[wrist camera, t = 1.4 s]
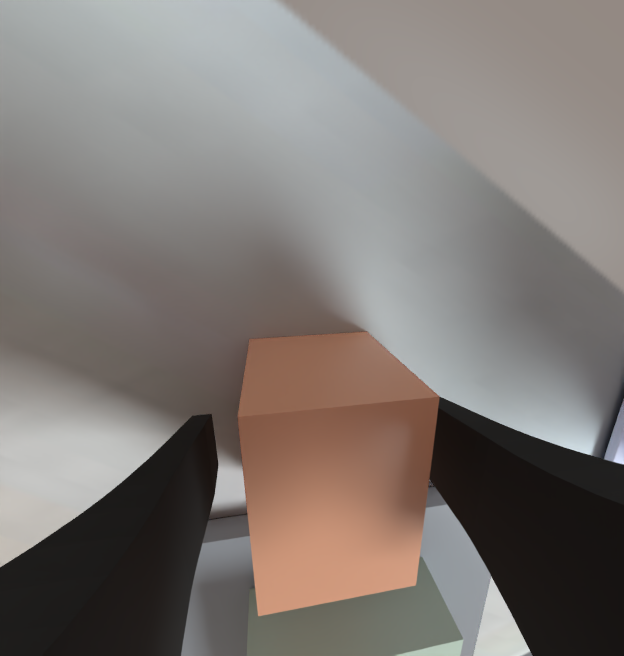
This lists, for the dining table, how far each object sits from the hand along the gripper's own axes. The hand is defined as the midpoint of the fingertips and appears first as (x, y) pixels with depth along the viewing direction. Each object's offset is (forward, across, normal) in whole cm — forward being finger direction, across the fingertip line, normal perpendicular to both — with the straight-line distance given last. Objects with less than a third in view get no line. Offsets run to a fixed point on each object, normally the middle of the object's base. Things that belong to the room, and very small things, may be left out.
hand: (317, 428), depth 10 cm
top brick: (+2, 0, 0) cm, 2 cm away
